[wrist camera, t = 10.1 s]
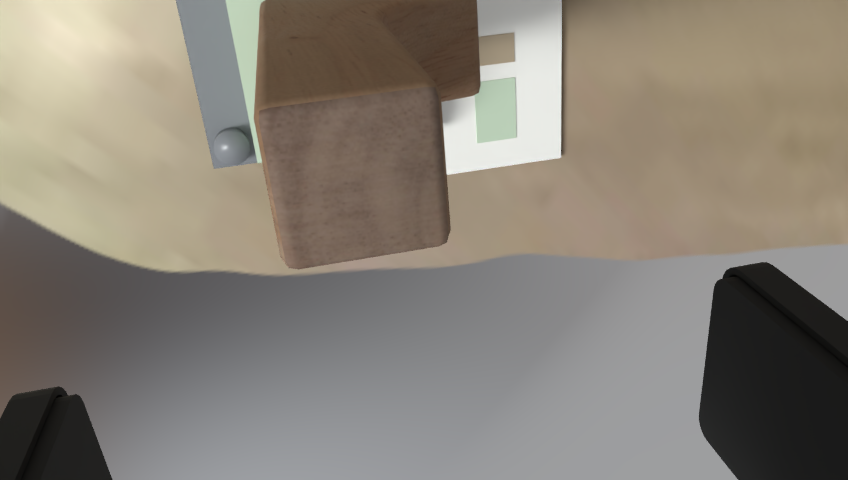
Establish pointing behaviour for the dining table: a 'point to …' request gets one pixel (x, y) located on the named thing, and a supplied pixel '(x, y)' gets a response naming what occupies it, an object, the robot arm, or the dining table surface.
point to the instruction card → (510, 90)
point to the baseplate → (224, 74)
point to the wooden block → (359, 121)
